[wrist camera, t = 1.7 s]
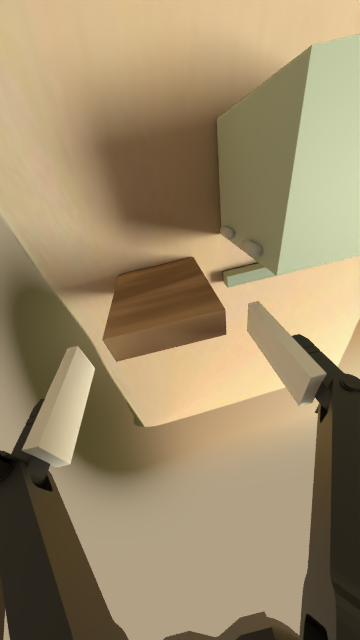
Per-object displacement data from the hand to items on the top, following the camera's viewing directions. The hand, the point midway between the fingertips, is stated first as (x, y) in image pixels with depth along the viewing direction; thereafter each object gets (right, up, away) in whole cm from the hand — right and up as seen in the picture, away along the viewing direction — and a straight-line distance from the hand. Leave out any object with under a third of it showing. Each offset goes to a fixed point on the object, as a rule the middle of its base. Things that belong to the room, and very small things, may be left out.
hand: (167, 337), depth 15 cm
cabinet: (+10, +13, +5) cm, 18 cm away
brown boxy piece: (-2, +7, +8) cm, 11 cm away
